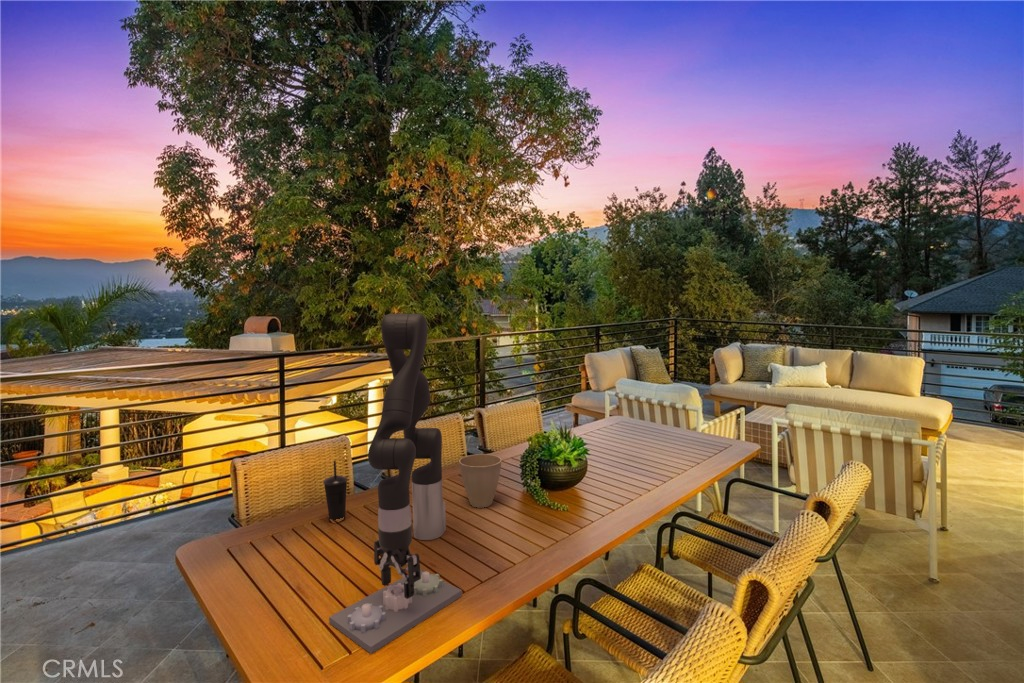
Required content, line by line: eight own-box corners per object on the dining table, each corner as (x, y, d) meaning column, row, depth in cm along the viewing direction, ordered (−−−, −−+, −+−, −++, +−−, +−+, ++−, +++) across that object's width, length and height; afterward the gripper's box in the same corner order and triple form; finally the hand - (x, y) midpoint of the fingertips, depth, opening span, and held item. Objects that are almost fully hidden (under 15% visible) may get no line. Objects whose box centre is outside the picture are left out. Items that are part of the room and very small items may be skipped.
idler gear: (400, 591, 123) (400, 580, 123) (417, 601, 119) (417, 589, 119) (377, 604, 118) (377, 592, 118) (395, 615, 114) (394, 602, 114)
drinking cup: (352, 514, 172) (349, 457, 171) (345, 524, 165) (342, 464, 163) (329, 515, 172) (326, 457, 171) (321, 525, 165) (318, 465, 163)
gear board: (419, 574, 134) (418, 556, 134) (461, 596, 124) (461, 576, 123) (329, 623, 114) (328, 602, 114) (371, 654, 104) (370, 630, 103)
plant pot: (508, 508, 176) (507, 463, 174) (467, 515, 170) (466, 469, 169) (494, 493, 189) (493, 451, 188) (455, 499, 184) (454, 456, 183)
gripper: (427, 525, 116) (430, 593, 117) (389, 510, 125) (392, 573, 126) (401, 538, 110) (403, 609, 111) (363, 520, 119) (366, 586, 120)
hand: (397, 590), depth 119 cm, fingers open, 8 cm apart
